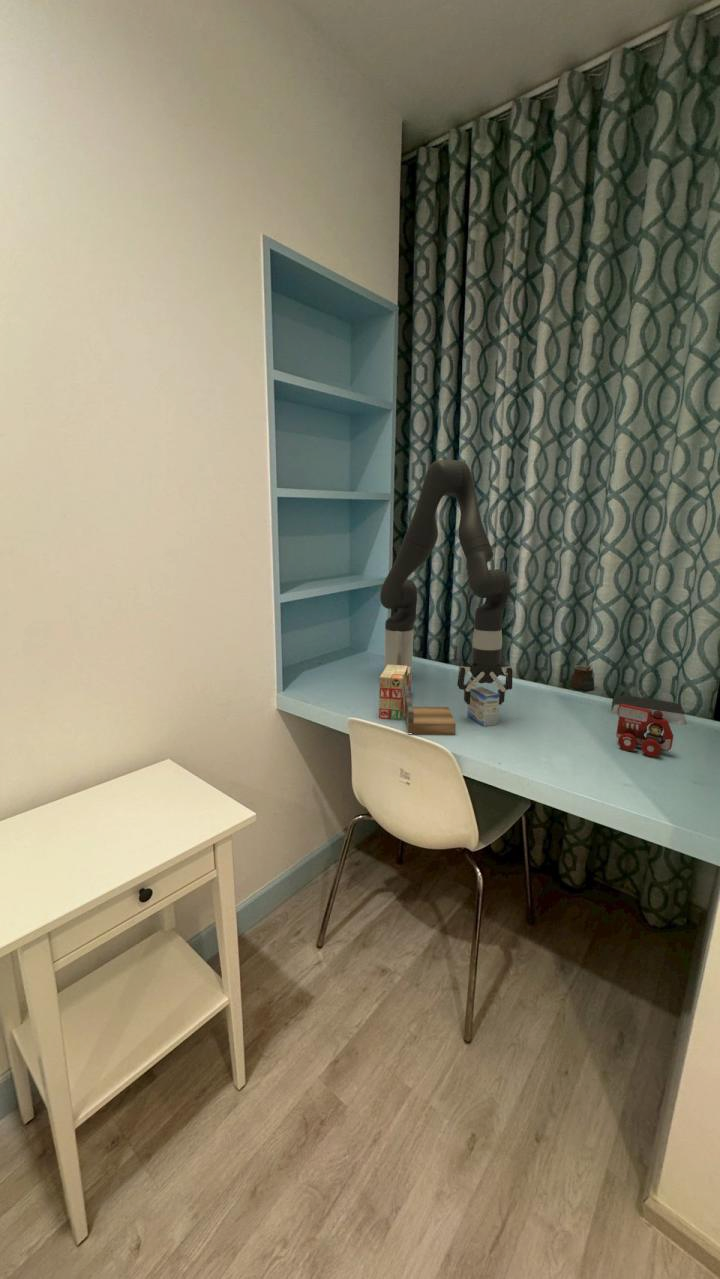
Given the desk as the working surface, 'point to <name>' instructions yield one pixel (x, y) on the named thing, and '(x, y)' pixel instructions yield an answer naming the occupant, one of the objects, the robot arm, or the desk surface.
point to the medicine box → (483, 706)
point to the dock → (428, 720)
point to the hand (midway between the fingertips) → (483, 703)
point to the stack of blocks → (394, 691)
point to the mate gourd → (582, 678)
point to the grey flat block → (651, 707)
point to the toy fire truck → (643, 730)
